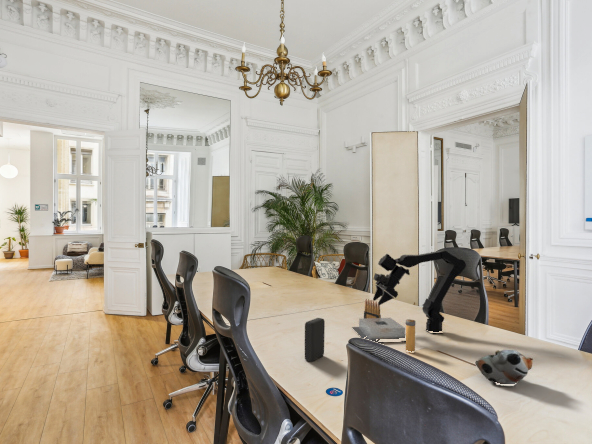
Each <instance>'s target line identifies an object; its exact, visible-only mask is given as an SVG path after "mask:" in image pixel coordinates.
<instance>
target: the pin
mask: <svg viewBox="0 0 592 444" xmlns="http://www.w3.org/2000/svg"><path fill="white" fill-rule="evenodd" d="M405 335H406V342H405V351H406V350H408V351H411V352H412V351H415V352H416V320H415V319H411V318H410V319H405Z"/></svg>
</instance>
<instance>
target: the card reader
mask: <svg viewBox="0 0 592 444" xmlns="http://www.w3.org/2000/svg"><path fill="white" fill-rule="evenodd" d="M325 327H326V326H325V319H324V318H322V317H316V318H313V319H310V320H307V321H306V322H304V360H305V361H307V362H314V361H316V360H318V359H319V358H321V357H323V356H324V355H325Z"/></svg>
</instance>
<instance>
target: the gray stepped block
mask: <svg viewBox="0 0 592 444" xmlns="http://www.w3.org/2000/svg"><path fill="white" fill-rule="evenodd" d="M352 328H353V329H354V330H355V331H356V332H357V333H358V334H357V333H356V332H355V331H354V330H353V329H352ZM351 329H352V330H353V331H354V332H355V333H356V334H357V336H359V335H360V336H361V337H360V336H359V337H360V339H362V338H364V337H366V336H367V337H366V338H365V339H369V340H372V341H375V342H378V341H379V340H380V339H399V338H405V335H406V326H403V325H401V323H399V322H398V321H396V320H395V319H393V318H391V317H381V318H364V317H363V318H359V319H358V326H352V327H351ZM376 339H378V340H377V341H376ZM378 344H383V343H382V342H381V343H380V342H379V343H378Z"/></svg>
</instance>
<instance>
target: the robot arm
mask: <svg viewBox="0 0 592 444" xmlns="http://www.w3.org/2000/svg"><path fill="white" fill-rule="evenodd" d="M437 260H438V261H439V260H442V261H443V262H444V263H445V264H447V265H446V268H445V269H446V270H445V274H444V276H443V278H442V279H441V281H440V283H439V284H438V285H437V286H438V287H437V289H436V290H435V292H434V293H433V295H432V296H431V298H430V299H429V298H425V301H424V302H423V304H422V313H424V315H425V317H426V322H425V323H426V325H425V329H426V330H428V331H433V332H439V331H442V332H443V322H444V320H445V317H444V316H443V315H442V314H441V310H442V302H443V301H444V299H445V297H446V295H447V293H448V291H449V290H450V289H451V286H452V285H453V283H454V281H455V280H456V278H457V277H458V276H460V275H461V274H462V272H464V270H465V269H466V267H467V263H466V261H465V260H464V259H462V258H458V257H456V256H454V255H453V254H452V253H449V252H448V251H447V250H443V249H440V250H438V251H431V252H427V253H425V252H424V253H421V254H402V255H400V257H398V258H393V257H392V256H391V254H389V253H386V254H385V255H383V256H382V257H381V258H380V259H379V261H378V263H377V265H379V266H380V267H381V268H383V269H384V270H385V271H387V272H389V271H390V273H389V274H386V275H385V274H383V273H380V274H379V273H374V276H373V278H372V280H374V281H375V293H374V295H373V298H372V301H373V300H374V302H376V301H377V300H378V299H379V300H378V302H377V306H378V305H380V306H381V305H383V304H385V303H387V302H388V301H391V300H393V299H397V297H398V296H399V292H398V291H397V290H395V288H396V287H397V285H399V284H401V282H400V281H401V280H402V278H403V277H404V275H405V274H406V275H407V276H410V274H411V273H410V269H409V268H412V267H415V266H416V267H417V265H419V264H422V263H427V262H432V261H437ZM399 265H400V266H399ZM426 330H425V331H426ZM428 331H427V332H428Z"/></svg>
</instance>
